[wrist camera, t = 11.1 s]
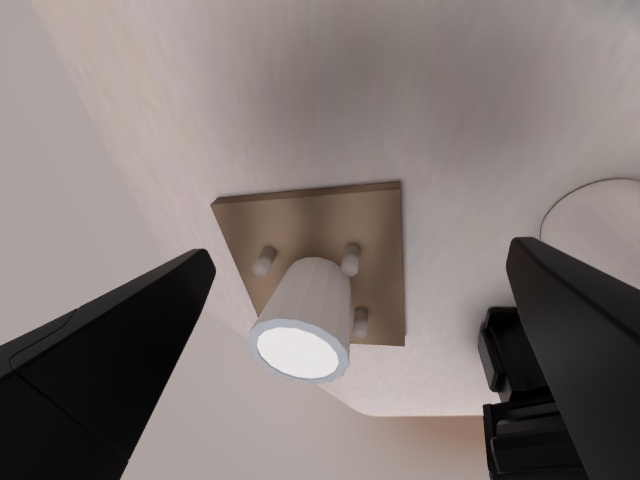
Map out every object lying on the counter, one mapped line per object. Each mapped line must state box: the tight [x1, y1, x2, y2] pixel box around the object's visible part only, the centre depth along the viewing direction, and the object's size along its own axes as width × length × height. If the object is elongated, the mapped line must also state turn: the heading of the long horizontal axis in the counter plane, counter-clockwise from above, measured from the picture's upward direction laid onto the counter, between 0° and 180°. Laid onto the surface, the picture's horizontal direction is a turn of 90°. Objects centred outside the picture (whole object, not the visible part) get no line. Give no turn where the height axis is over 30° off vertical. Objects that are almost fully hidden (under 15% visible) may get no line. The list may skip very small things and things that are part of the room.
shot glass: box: [248, 257, 351, 384], centre depth 22 cm, size 7×7×7 cm
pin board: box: [210, 182, 405, 346], centre depth 24 cm, size 14×16×4 cm
